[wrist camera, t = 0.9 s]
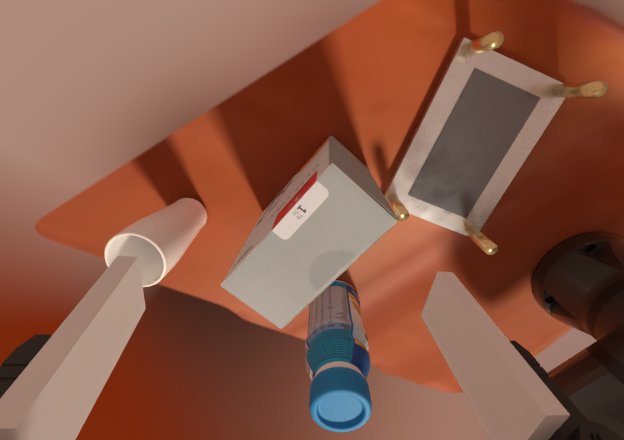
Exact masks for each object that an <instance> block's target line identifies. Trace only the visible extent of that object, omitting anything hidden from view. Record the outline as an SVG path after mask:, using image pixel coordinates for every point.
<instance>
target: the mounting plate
mask: <svg viewBox="0 0 624 440" xmlns="http://www.w3.org/2000/svg"><path fill="white" fill-rule="evenodd" d="M503 40H504V36H503V34H502V33H501V32H500V31H495V32H492V33H490V34H487V35H485V36H482V37H480V38H477V39H475V40H469V39H467V38H465V37H464V38H461V39H460V40H459V42H458V44H457V47H456V49H455V51H454V53H453V55H452V57H451V59H450V61H449V63H448V65H447V67H446V69H445V71H444V73H443V75H442V77H441V79H440V81H439V83H438V85H437V87H436V89H435V91H434V93H433V95H432V97H431V99H430V101H429V103H428V105H427V107H426V109H425V111H424V113H423V115H422V117H421V119H420V121H419V123H418V125H417V127H416V129H415V131H414V133H413V135H412V137H411V139H410V141H409V143H408V145H407V147H406V149H405V151H404V153H403V156H402V158H401V160H400V162H399V164H398V166H397V168H396V170H395V172H394V174H393V176H392V178H391V180H390V182H389V184H388V186H387V188H386V190H385V192H384V194H383V195H384V196H385V198H386V200H387V202H388V203H389V205H390V207H391V208H392V210H393V211H394V213H395V215H396V216H397V218H398V220H400V221H404V220H406V219H407V218H408V217H409V214H412V215H414V216H417V217H420V218H422V219H425V220H427V221H430V222H432V223H435V224H437V225H440V226H443V227H445V228H448V229H450V230H453V231H455V232H458V233H460V234H463V235H465V236H468V237H469V238H470V239H471V240H472V241H473V242H475V243H476V244H477V245H478V246H479V247H480V248H481V249H482V250H483V251H484V252H485V253H486V254H488V255H493V254H495V253H496V252H497V251H498V246H497V245H496V244H495V243H493V242H492V241H491V240H490V239H489V238H487V237H486V236H485V235H484V234H483V233H481V232H480V230H481V228H482V227H483V225H484V223H485V222H486V220H487V219H488V217H489V216H490V214H491V213H492V211H493V209H494V208H495V206H496V205H497V203H498V202H499V200H500V199H501V197H502V196H503V194H504V192H505V191H506V189H507V188H508V186H509V185H510V183H511V182H512V180H513V178H514V177H515V175H516V174H517V172H518V171H519V169H520V168H521V166H522V165H523V163H524V161H525V160H526V158H527V157H528V155H529V154H530V152H531V151H532V149H533V148H534V146H535V144H536V143H537V141H538V140H539V138H540V137H541V135H542V134H543V132H544V130H545V129H546V127H547V126H548V124H549V123H550V121H551V120H552V118H553V117H554V115H555V113H556V112H557V110H558V109H559V107H560V106H561V104H562V103H563V101H564V100H565V98H597V97H601V96H603V95H604V94H605V93H606V92H607V90H608V84H607V82H605V81H595V82H581V83H567V84H564V83H562V82H560V81H557V80H555V79H553V78H551V77H549V76H547V75H545V74H542V73H540V72H538V71H536V70H534V69H532V68H530V67H527V66H525V65H523V64H521V63H519V62H517V61H514V60H512V59H510V58H508V57H506V56H504V55H502V54H499V53H497V52H495V51H493V50H494V49H497V48H499V47H500V46H501V45H502V43H503Z"/></svg>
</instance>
